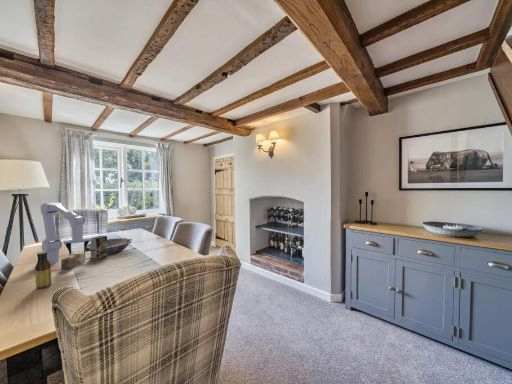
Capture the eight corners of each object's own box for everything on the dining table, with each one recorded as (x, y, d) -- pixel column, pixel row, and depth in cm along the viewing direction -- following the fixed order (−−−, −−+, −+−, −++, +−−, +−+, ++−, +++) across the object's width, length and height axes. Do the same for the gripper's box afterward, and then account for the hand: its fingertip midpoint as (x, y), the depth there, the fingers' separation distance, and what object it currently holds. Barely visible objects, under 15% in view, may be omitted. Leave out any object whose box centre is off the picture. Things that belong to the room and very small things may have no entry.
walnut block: (61, 269, 143) (61, 259, 142) (66, 267, 148) (66, 256, 147) (69, 269, 143) (69, 259, 143) (74, 266, 148) (74, 256, 148)
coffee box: (97, 259, 164) (97, 238, 164) (90, 258, 166) (90, 238, 165) (107, 255, 173) (107, 235, 173) (101, 254, 175) (100, 235, 174)
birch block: (73, 263, 154) (73, 254, 153) (78, 261, 159) (77, 251, 158) (80, 263, 154) (80, 253, 154) (85, 261, 159) (85, 251, 159)
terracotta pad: (44, 271, 140) (44, 270, 140) (54, 266, 148) (54, 265, 148) (57, 270, 141) (57, 270, 141) (66, 266, 149) (66, 265, 149)
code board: (41, 273, 139) (41, 272, 138) (66, 260, 160) (66, 260, 160) (70, 272, 141) (70, 271, 141) (91, 260, 162) (91, 259, 162)
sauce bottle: (42, 284, 124) (42, 250, 123) (54, 284, 124) (53, 250, 124) (32, 290, 117) (31, 254, 116) (44, 289, 118) (43, 254, 117)
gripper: (62, 236, 142) (62, 256, 143) (90, 233, 150) (90, 252, 151) (64, 234, 148) (64, 253, 149) (90, 231, 156) (91, 250, 157)
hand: (77, 252), depth 150 cm, fingers open, 7 cm apart
